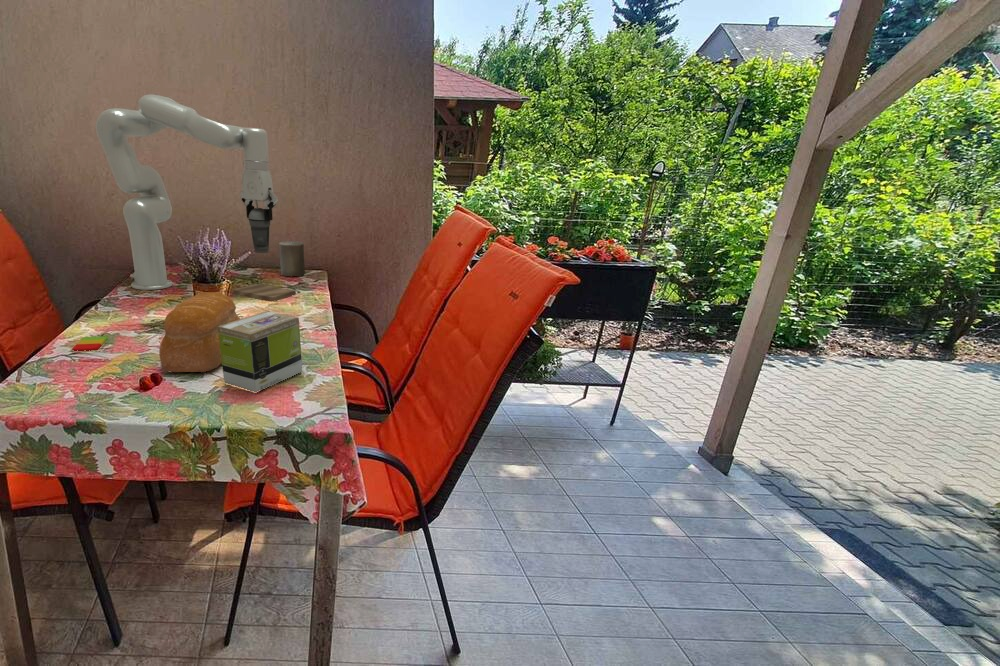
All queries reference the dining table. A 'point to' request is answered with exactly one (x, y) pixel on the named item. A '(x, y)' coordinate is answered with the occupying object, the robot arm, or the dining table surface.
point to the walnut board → (264, 292)
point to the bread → (195, 333)
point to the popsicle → (90, 343)
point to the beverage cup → (259, 230)
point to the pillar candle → (292, 258)
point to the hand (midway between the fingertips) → (259, 218)
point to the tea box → (260, 350)
